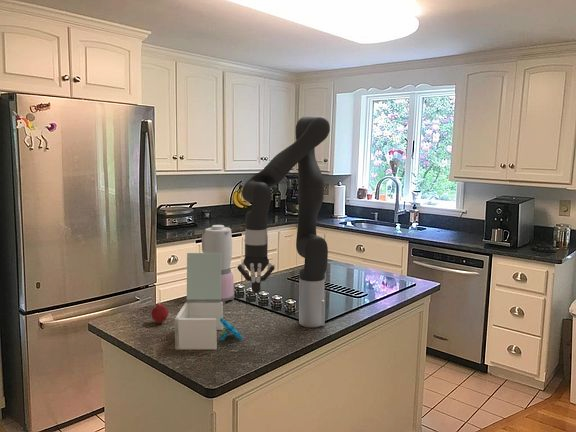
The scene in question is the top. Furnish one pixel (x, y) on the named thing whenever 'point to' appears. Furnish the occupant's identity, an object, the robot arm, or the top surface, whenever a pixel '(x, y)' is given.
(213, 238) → the blender
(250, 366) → the top surface
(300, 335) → the top surface
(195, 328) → the box
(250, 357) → the top surface
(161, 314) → the onion
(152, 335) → the top surface
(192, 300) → the lid
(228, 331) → the blue t-shaped piece
